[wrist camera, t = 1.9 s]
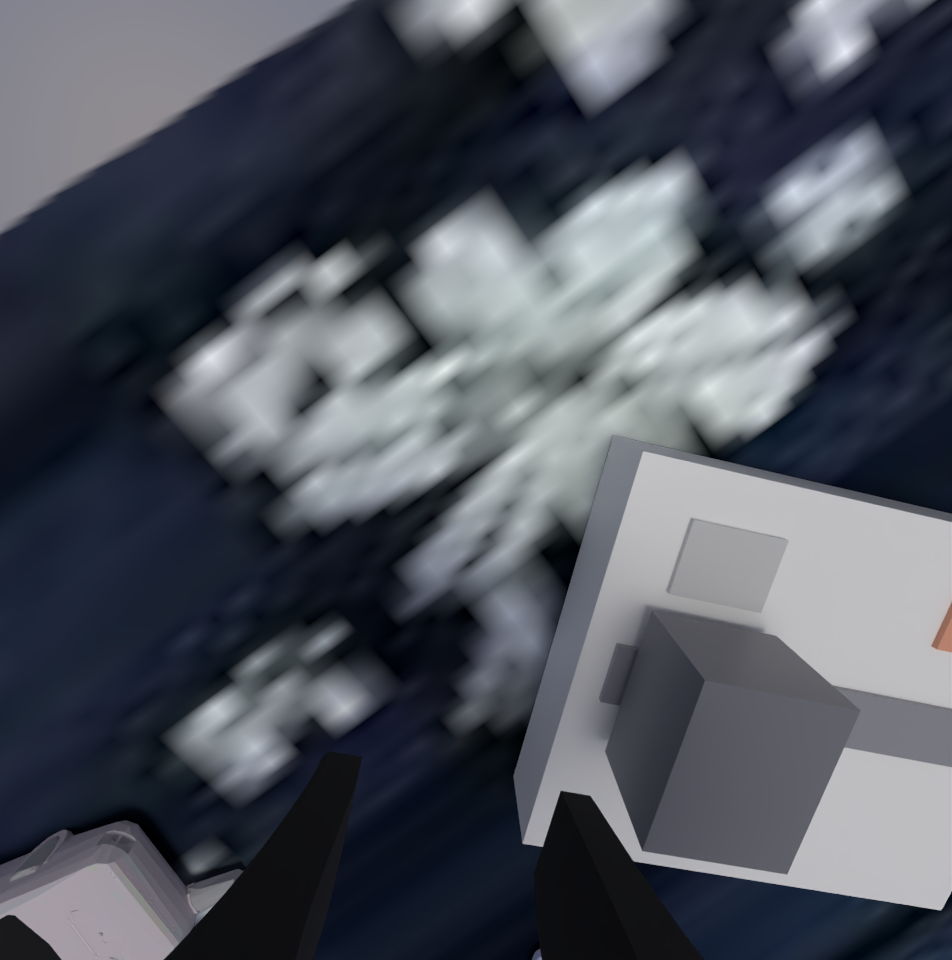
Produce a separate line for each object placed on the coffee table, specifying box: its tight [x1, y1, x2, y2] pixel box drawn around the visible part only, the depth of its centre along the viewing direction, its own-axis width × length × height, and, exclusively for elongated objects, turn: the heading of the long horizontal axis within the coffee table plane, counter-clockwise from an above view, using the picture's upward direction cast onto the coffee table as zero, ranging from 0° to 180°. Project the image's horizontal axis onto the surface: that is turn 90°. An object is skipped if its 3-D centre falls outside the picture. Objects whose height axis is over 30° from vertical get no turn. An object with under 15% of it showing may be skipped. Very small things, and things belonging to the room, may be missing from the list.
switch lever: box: [605, 611, 861, 874], centre depth 15 cm, size 4×5×4 cm
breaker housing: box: [513, 435, 952, 910], centre depth 19 cm, size 16×14×3 cm
